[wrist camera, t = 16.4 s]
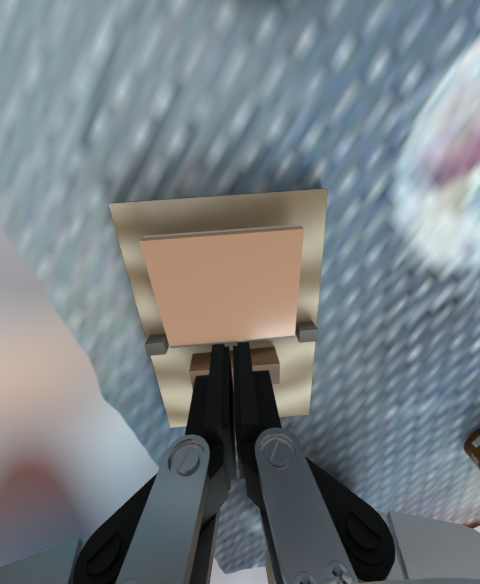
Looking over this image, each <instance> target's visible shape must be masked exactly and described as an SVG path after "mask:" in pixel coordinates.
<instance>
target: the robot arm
mask: <svg viewBox="0 0 480 584" xmlns="http://www.w3.org/2000/svg"><path fill="white" fill-rule="evenodd" d="M233 377H234V388H233V378H232V368H231V359H230V349H229V346H227V347H225V344H213V345H212V351H211V360H210V369H209V375H199V376H196V377H195V382H194V387H193V393H192V399H191V404H190V410H189V415H188V421H187V426H186V432H185V436H183V437H180V438H179V439H177V440H176V441H174V442H173V443H172V444H171V445H170V447H169V448H168V449H167V451H166V453H165V455H164V458H163V460H162V463H161V465H160V468H159V471H158V473H157V474H156V475H155V476H154V477H153V478H152V479H150V480H149V481H148V482H147V483H146V484H145V485H144V486H143V487H142V488H141V489H140V490H139V491H138V492H137V493H135V494H134V495H133V496H132V497H131V498H130V499H129V500H128V501H127V502H126V503H125V504H124V505H123V506H122V507H121V508H119V509H118V510H117V511H116V512H115V514H113V515H112V516H111V517H110V518H109V519H108V520H107V521H106V522H105V523H104V524H102V525H101V526H100V527H99V528H98V529H97V530H96V531H95V533H94V534H93V535H92V536H91V537H89V538H86V539H84V540H81V539H80V538H76V539H74V540H71V541H68V542H66V543H63V544H61V545H58V546H55V547H52V548H50V549H47V550H44V551H42V552H39V553H36V554H34V555H31V556H28V557H25V558H23V559H20V560H17V561H15V562H12V563H10V564H7V565H4V566H2V567H0V584H210V577H211V570H212V563H213V557H214V550H215V543H216V536H217V529H218V522H219V515H220V507H221V506H222V505H223V503H224V502H225V501H226V499H227V498H228V490H230V480H231V479H236V459H235V433H236V442H237V451H238V460H239V470H240V479H243V478H246V488H247V496H248V497H249V498H250V499H251V500H252V501H253V502H254V503H255V504H256V505H257V506H258V510H259V515H260V519H261V524H262V529H263V534H264V538H265V543H266V548H267V553H268V557H269V562H270V567H271V571H272V576H273V581H274V584H480V533H479V532H477V531H476V530H474V529H472V528H469V527H466V526H464V525H459V524H454V523H449V522H444V521H439V520H434V519H429V518H424V517H419V516H414V515H409V514H404V513H399V512H394V511H389V512H388V514H387V513H382V512H377V511H375V510H374V509H373V508H372V507H371V506H370V505H369V504H367V503H366V502H365V501H363V500H362V499H361V498H359V497H358V496H357V495H355V494H354V493H353V492H351V491H350V490H349V489H347V488H346V487H345V486H343V485H342V484H341V483H339V482H338V481H337V480H335V479H334V478H333V477H331V476H330V475H329V474H327V473H326V472H325V471H324V470H322V469H321V468H320V467H318V466H317V465H316V464H314V463H313V462H312V461H310V460H309V459H308V458H306V457H305V455H304V453H303V451H302V448H301V446H300V444H299V442H298V441H297V439H296V437H295V436H294V435H293V434H291V433H290V432H289V431H287V430H285V429H282V428H281V423H280V418H279V414H278V409H277V405H276V400H275V395H274V391H273V386H272V382H271V377H270V373H269V370H262V371H253V369H252V361H251V353H250V345H249V342H237V346H233Z"/></svg>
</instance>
